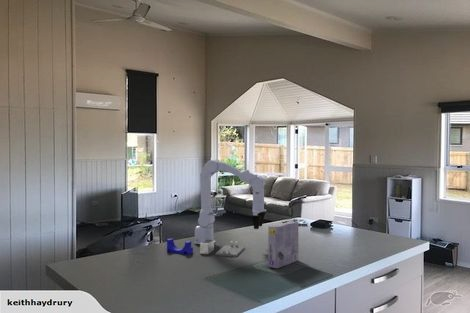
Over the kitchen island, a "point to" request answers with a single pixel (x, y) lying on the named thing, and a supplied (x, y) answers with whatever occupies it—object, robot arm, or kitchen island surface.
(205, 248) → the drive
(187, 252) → the cable clip
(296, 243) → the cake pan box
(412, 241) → the kitchen island surface
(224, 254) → the pin tray
